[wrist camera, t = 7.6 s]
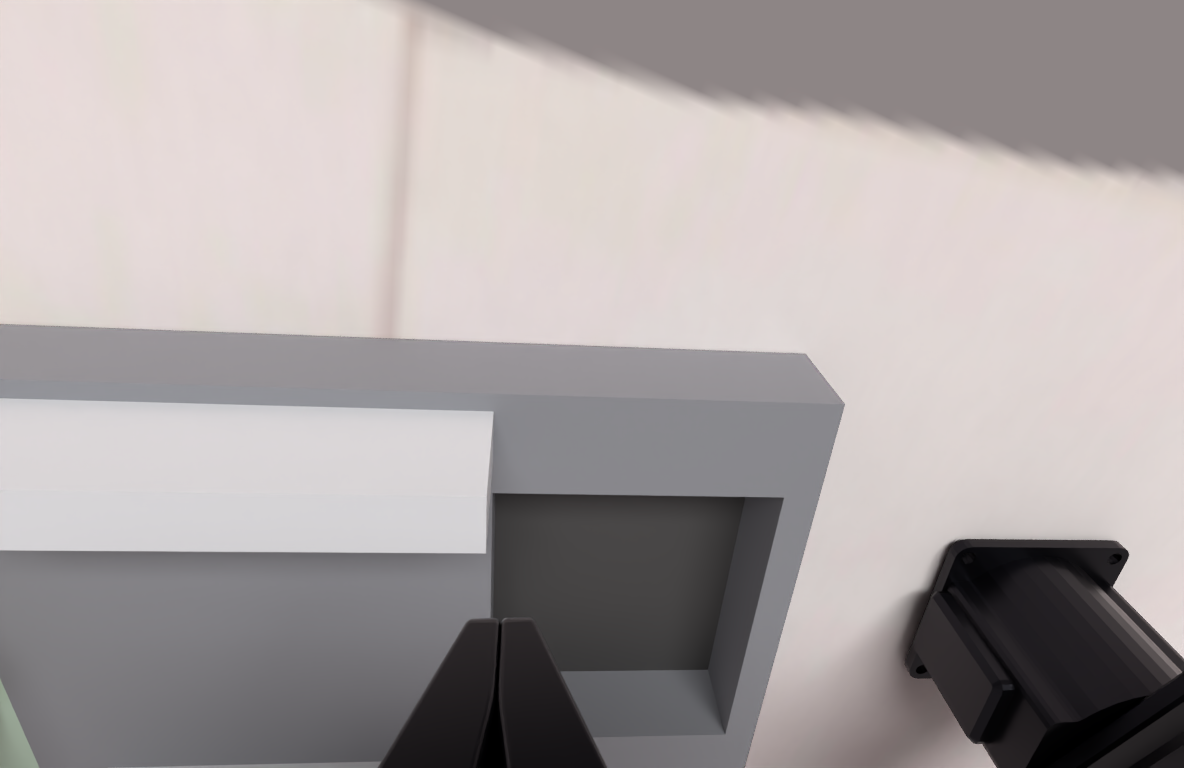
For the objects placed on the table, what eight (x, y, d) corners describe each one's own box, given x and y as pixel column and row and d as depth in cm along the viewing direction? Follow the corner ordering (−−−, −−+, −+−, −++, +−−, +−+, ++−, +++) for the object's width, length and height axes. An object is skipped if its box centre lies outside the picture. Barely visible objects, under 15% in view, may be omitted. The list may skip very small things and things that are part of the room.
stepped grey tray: (805, 353, 21) (907, 484, 16) (719, 715, 29) (766, 894, 23) (-481, 306, 18) (-959, 452, 12) (-200, 732, 25) (-413, 947, 20)
